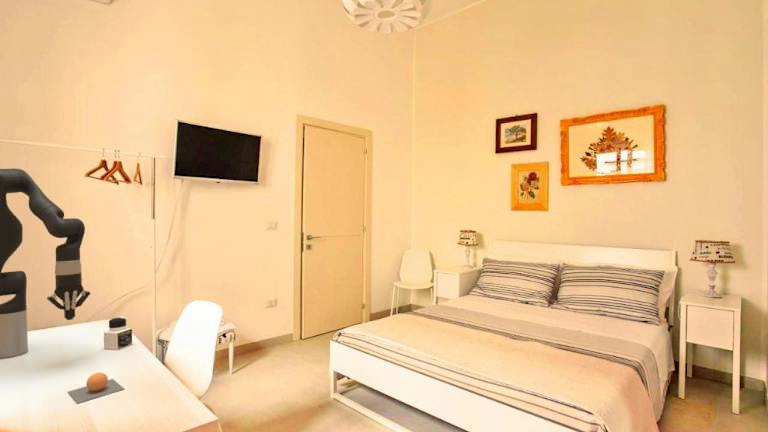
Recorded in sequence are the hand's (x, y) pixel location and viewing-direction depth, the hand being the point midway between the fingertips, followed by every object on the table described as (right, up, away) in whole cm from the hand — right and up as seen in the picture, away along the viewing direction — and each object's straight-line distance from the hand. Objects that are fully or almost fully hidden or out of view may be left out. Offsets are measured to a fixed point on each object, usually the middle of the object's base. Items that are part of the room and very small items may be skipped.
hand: (69, 319), depth 146 cm
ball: (+26, -14, -22) cm, 36 cm away
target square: (+26, -17, -22) cm, 38 cm away
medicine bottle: (+5, -17, +20) cm, 26 cm away
